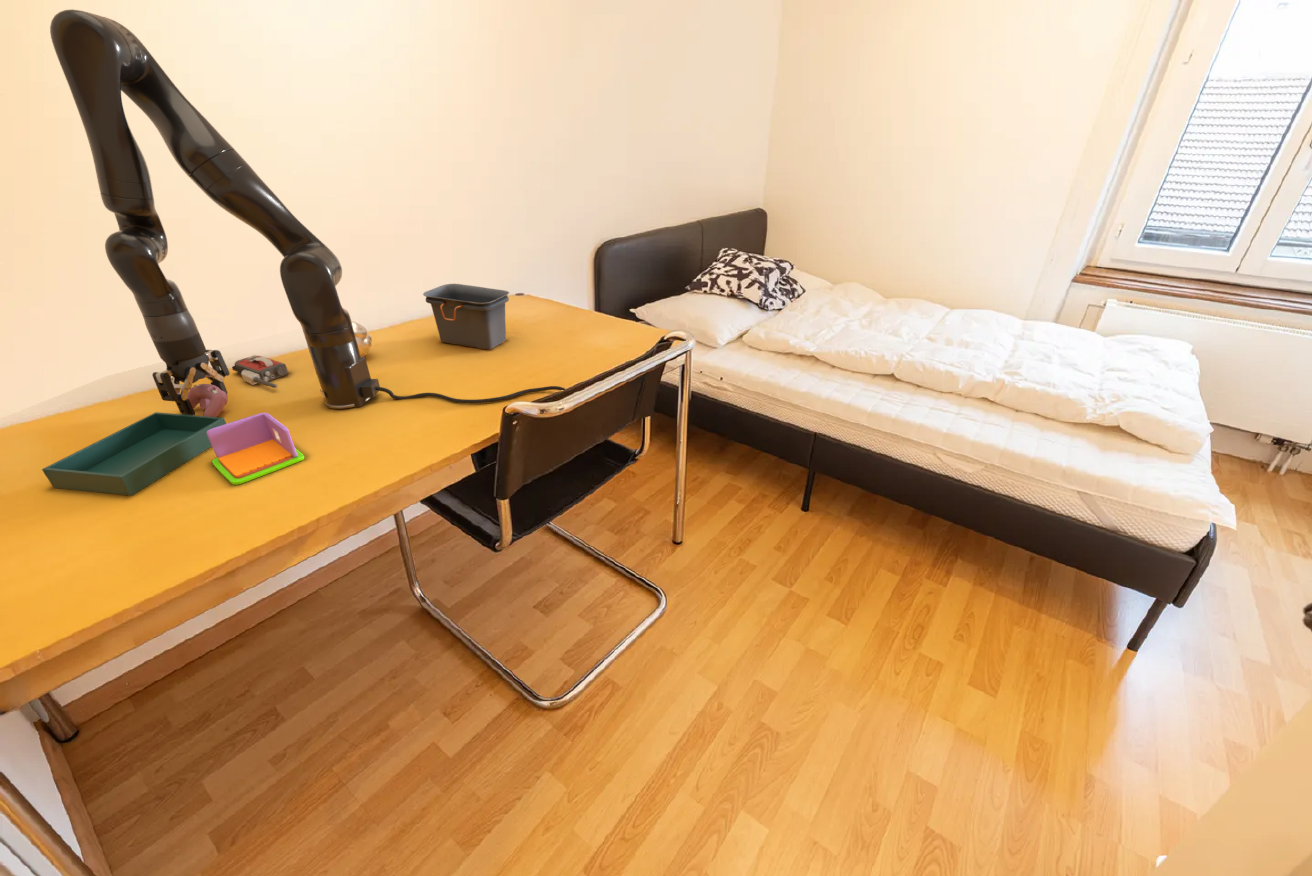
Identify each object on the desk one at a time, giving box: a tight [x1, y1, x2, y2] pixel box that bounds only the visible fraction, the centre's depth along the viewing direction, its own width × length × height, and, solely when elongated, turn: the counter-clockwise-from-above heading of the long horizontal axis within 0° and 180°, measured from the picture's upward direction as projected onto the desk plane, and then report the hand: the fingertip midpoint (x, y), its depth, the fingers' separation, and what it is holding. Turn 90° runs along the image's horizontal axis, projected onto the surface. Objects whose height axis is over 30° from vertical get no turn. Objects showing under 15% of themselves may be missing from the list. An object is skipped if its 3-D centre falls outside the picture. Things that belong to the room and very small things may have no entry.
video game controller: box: [187, 383, 228, 417], centre depth 119 cm, size 10×5×7 cm, turn 65°
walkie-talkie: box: [231, 354, 289, 389], centre depth 135 cm, size 9×4×20 cm
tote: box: [41, 411, 227, 497], centre depth 103 cm, size 15×21×4 cm
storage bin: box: [422, 283, 510, 351], centre depth 155 cm, size 21×16×14 cm
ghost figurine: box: [351, 321, 373, 357], centre depth 145 cm, size 9×10×10 cm
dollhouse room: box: [207, 412, 305, 486], centre depth 102 cm, size 12×12×7 cm
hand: (206, 406), depth 120 cm, fingers open, 8 cm apart
